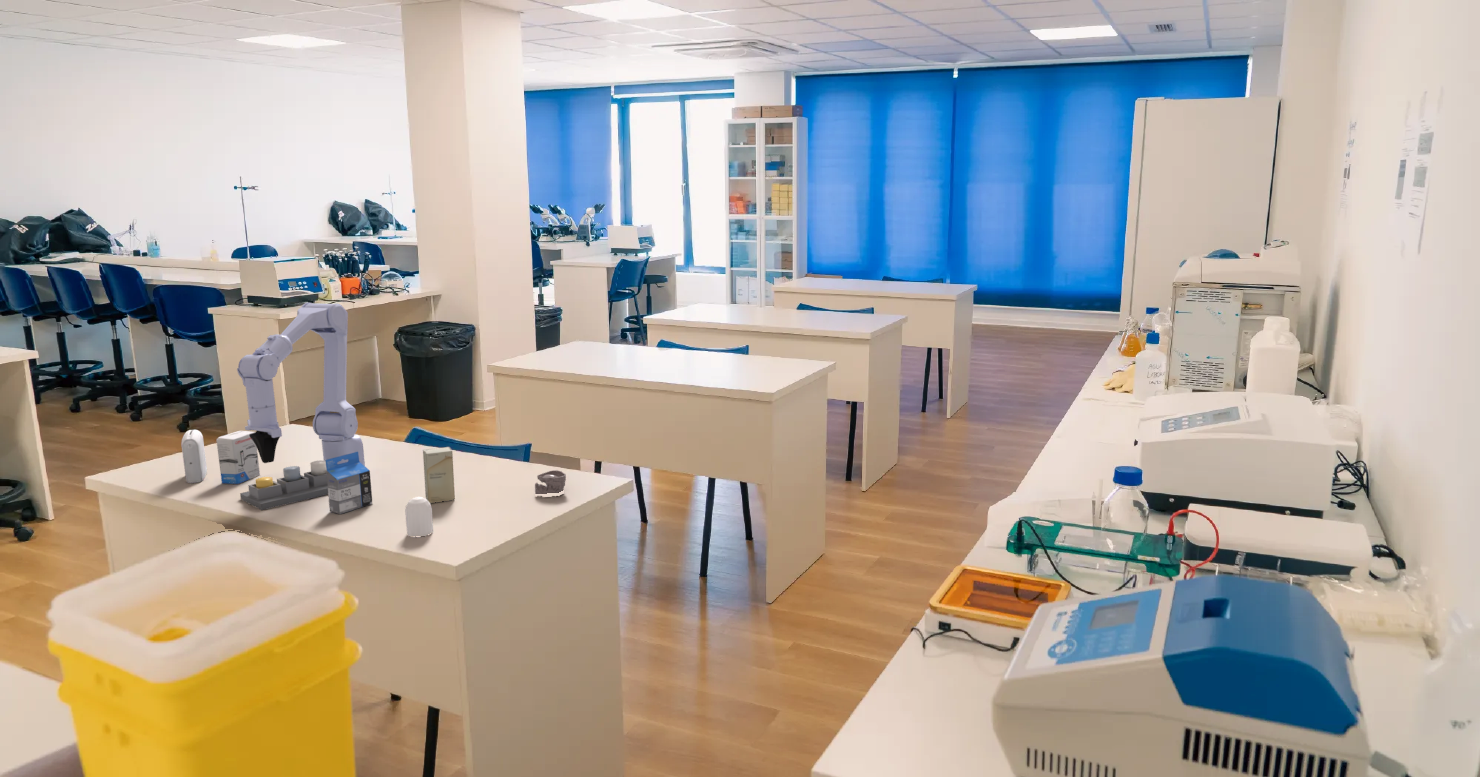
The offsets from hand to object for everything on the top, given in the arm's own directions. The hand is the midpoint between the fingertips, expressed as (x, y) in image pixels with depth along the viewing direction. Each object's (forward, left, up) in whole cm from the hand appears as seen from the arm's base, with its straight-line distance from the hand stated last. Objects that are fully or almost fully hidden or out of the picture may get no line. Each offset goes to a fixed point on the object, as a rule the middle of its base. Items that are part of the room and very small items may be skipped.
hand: (268, 461), depth 224 cm
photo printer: (+5, -33, -10) cm, 35 cm away
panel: (-5, 0, -9) cm, 11 cm away
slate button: (-5, 0, -6) cm, 8 cm away
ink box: (-2, -23, -10) cm, 25 cm away
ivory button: (-12, 0, -5) cm, 13 cm away
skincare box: (-27, +30, -10) cm, 41 cm away
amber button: (+1, 0, -7) cm, 7 cm away
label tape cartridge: (-10, +20, -10) cm, 24 cm away
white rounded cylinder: (-12, +47, -10) cm, 49 cm away
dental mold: (-47, +46, -10) cm, 67 cm away
